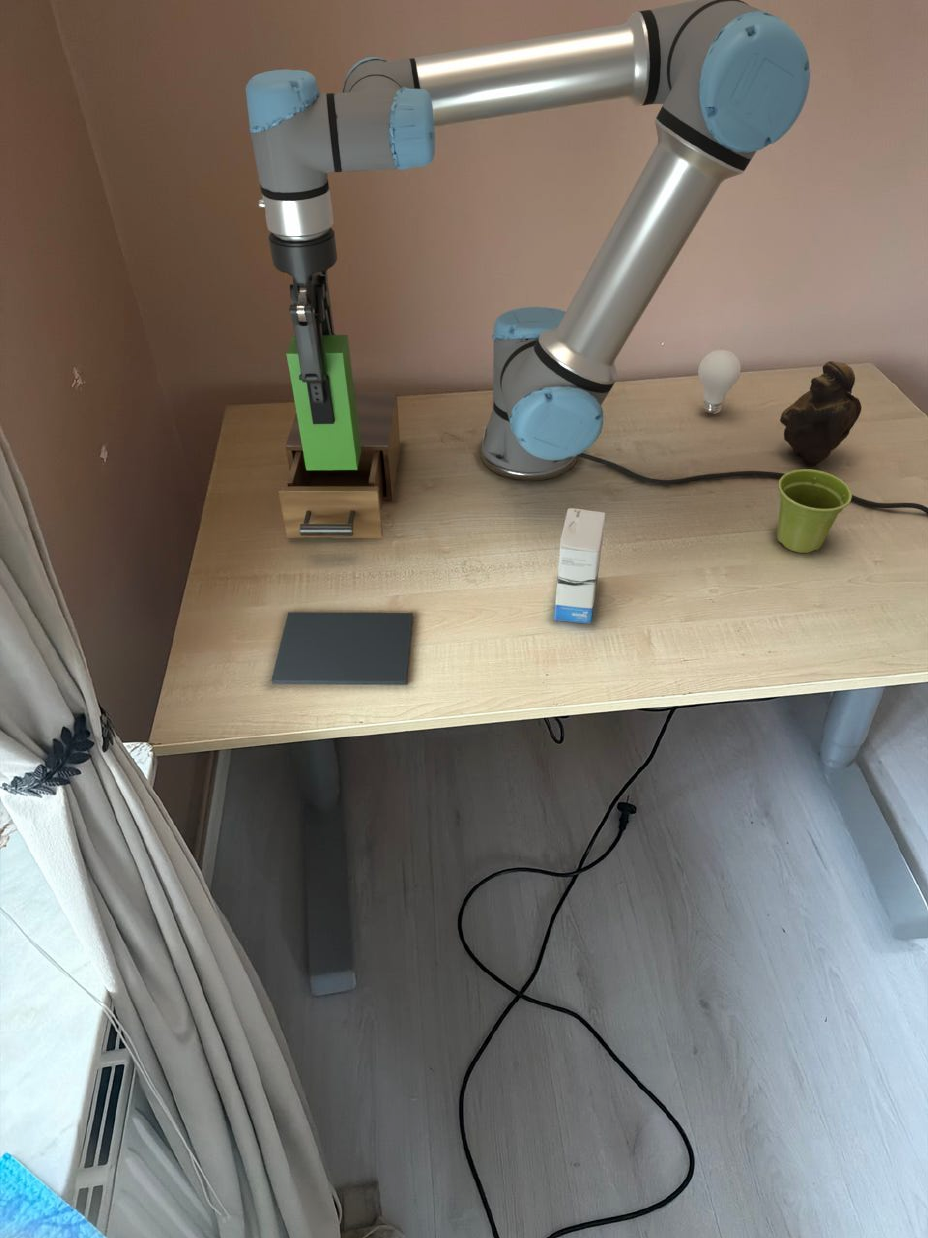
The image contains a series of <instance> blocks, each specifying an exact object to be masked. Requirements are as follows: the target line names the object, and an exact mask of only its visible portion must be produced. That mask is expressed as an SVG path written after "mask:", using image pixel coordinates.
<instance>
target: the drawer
mask: <svg viewBox="0 0 928 1238" xmlns="http://www.w3.org/2000/svg"><path fill="white" fill-rule="evenodd" d="M384 486H385V470H384V459H383V451H361V455H360V460H359V465H358V470H306V466H305V460H304V454H303V451H296V454H295V457H294V460H293V464H292V467H291V471H290V470H289V475H288V477H287V481H286V486H285V485H284V486H282V485H281V486H279V488H278V497H279V502H280V508H281V512H282V518H283V523H284V529H285V534H286V538H345V539H347V538H350V539H351V538H352V539H353V538H354V539H355V538H359V539H360V538H364V539H365V538H367V539H370V538H371V539H372V538H374V539H375V538H383V534H384V533H383V532H384V530H383V521H382V505H383V502H382V499H383V493H384Z"/></svg>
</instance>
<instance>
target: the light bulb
mask: <svg viewBox="0 0 928 1238" xmlns="http://www.w3.org/2000/svg"><path fill="white" fill-rule="evenodd" d="M741 367H742V366H741V363H740V360H739V359H738V357H737V355H735V354H734V353H733V352H731V351H729V350H726V349H715V350H713V351H711V352H709V353H707V354H705V356H704V357H703V358H702V360H701V361H700V363H699V366H698V369H697V370H698V371H697V374H698V379H699V382H700V384H701V386H702V388H703V410H704V412H706V413H708V414H709V415H715V414H719V413H720V412H721V411H722V407H723V402H724V401H725V399H726V396H727V394H728V392H729V391H730V390H732V388H733V387H734V386H735V385H736V384H737V382H738V380H739V378H740V375H741V372H742V368H741Z"/></svg>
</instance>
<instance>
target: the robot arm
mask: <svg viewBox="0 0 928 1238" xmlns="http://www.w3.org/2000/svg"><path fill="white" fill-rule="evenodd" d="M810 83H811V68H810V59H809V54H808V51H807V48H806V46H805V43H804V42H803V40H802V39H801V37H800V36H799V35H798V33H797V32H796V31H795V30H794V29H793V28H791V27H790V25H789V24H787V23H786V22H784V20H782V18H781V17H779V16H776V15H774V14H771V13H769V12H768V11H764V10H761V9H759V8H756V7H754V6H751V5H750V4H748V3H747V2H745V1H743V0H689V1H684V2H679V3H675V4H670V5H666V6H660V7H656V8H651V9H645V10H639V11H634V12H633V13H631V15H630V17H629V18H628V19H627V20H626V22H625V23H623V24H617V25H610V26H605V27H598V28H591V29H585V30H581V31H580V30H579V31H573V32H566V33H561V34H555V35H547V36H540V37H535V38H534V37H533V38H527V39H522V40H516V41H511V42H510V41H509V42H504V43H497V44H491V45H486V46H485V45H484V46H479V47H472V48H465V49H461V50H459V49H458V50H454V51H448V52H440V53H433V54H428V55H422V56H421V55H420V56H415V57H414V58H402V59H396V60H390V61H388V60H386V59H385V58H381V57H376V56H372V57H366V58H365V57H364V58H362V59H361V60H359V61H357V62H355V64H354V65H353V66H351V68H350V69H349V71H348V72H347V75H346V78H345V81H344V83H343V87H342V90H341V91H342V92H335V93H334V92H329V93H327V92H320V88H319V87H318V83H317V79H316V77H315V75H313V74H312V73H311V72H310V71H306V70H301V69H294V70H293V69H275V70H269V71H268V70H267V71H264V72H263V71H262V72H261V73H258V74H255V75H254V76H252V77H251V78H250V79H249V80H248V82H247V84H246V85H245V98H246V106H247V107H246V108H247V114H248V122H249V127H248V128H249V133H250V139H251V144H252V148H253V154H254V159H255V165H256V170H257V175H258V181H259V187H260V193H261V196H262V197H261V199H259V200H258V204H257V206H258V208H259V209H262V210H264V212H265V214H264V216H265V222H266V223H265V224H266V228H267V230H268V231H269V232H270V234H269V235H268V242H269V249H270V255H271V260H272V265H273V266H274V268H275V269H276V270H278V271H279V272H280V273H285V274H288V275H289V276H291V277H292V283H290V284H289V296H290V300H292V303H293V304H289V309H288V310H289V313H290V314H289V315H290V317H291V321H292V325H293V331H294V336H295V338H296V345H297V351H298V358H299V364H300V370H301V374H300V375H299V380H302V382H307V389H308V395H309V402H310V408H311V414H312V421H313V424H334V413H333V406H332V399H331V392H330V384H329V377H328V375H326V371H325V360H324V348H323V337H322V335H336V334H335V328H334V327H335V326H334V320H333V319H334V318H333V313H332V304H331V296H330V289H329V280H328V279H329V278H328V270H329V269H331V268H332V267H334V266H335V264H336V263H337V261H338V249H337V242H336V234H335V230H334V229H333V228H332V226H333V225H334V222H335V221H334V214H333V213H334V212H333V205H332V204H333V203H332V198H331V197H332V196H331V190H330V189H331V188H330V186H329V179H328V176H329V175H328V174H329V173H348V172H369V171H370V172H371V171H386V170H387V171H388V170H391V171H392V170H399V171H406V170H408V169H413V168H414V169H415V168H421V167H427V166H430V164H432V163H433V161H434V159H435V156H436V155H435V154H436V134H435V130H436V129H439V128H447V127H452V126H459V125H465V124H466V125H467V124H471V123H478V122H479V123H480V122H484V121H491V120H492V121H493V120H498V119H503V118H511V117H519V116H523V115H529V114H530V115H531V114H536V113H537V114H538V113H542V112H548V111H549V112H550V111H556V110H562V109H569V108H575V107H582V106H586V105H587V106H588V105H594V104H600V103H608V102H614V101H620V100H625V99H627V100H629V101H630V102H631V103H632V104H633V105H635V107H642V106H643V107H644V106H649V105H662V106H661V108H660V110H659V112H658V114H657V116H656V117H655V120H654V125H655V129H656V135H657V144H656V145H655V147H654V149H653V151H652V153H651V155H650V156H649V158H648V160H647V162H646V163H645V166H644V168H643V169H642V171H641V173H640V175H639V177H638V179H637V180H636V182H635V184H634V186H633V188H632V190H631V192H630V193H629V195H628V196H627V199H626V200H625V203H624V205H623V206H622V208H621V210H620V212H619V213H618V215H617V217H616V219H615V221H614V222H613V224H612V226H611V228H610V230H609V232H608V234H607V236H606V238H605V239H604V241H603V243H602V245H601V247H600V248H599V251H598V252H597V254H596V256H595V258H594V259H593V262H592V263H591V265H590V266H589V268H588V271H587V273H586V274H585V276H584V278H583V280H582V281H581V284H580V286H579V287H578V289H577V290H576V292H575V293H574V296H573V297H572V300H571V302H570V303H569V306H568V308H567V309H566V311H565V310H562V309H560V308H559V309H558V308H554V307H545V306H527V307H518V308H514V309H511V310H508V311H504V312H503V313H501V314H500V315H499V316H498V317H497V318H496V319H495V321H494V323H493V324H494V325H493V333H492V336H491V339H492V340H493V359H492V360H493V361H492V362H493V364H492V365H493V366H492V368H493V369H492V371H493V373H492V380H493V381H492V411H491V414H490V417H489V420H488V423H487V424H485V425H484V428H483V436H482V439H481V443H480V444H481V445H480V456H481V461H482V462H483V464H484V465H485V466H486V468H488V469H489V470H490V471H492V472H494V473H495V474H497V475H499V476H502V477H504V478H508V479H511V480H517V481H525V482H535V481H545V480H550V479H554V478H556V477H559V476H562V475H564V474H566V473H567V472H569V471H570V470H571V469H572V468H573V467H574V466H575V465H576V463H577V460H578V458H582V459H584V460H588V461H590V462H591V461H592V462H594V463H598V464H600V465H602V466H603V465H604V466H607V467H609V468H611V469H614V470H617V471H618V472H621V473H623V474H625V475H627V476H629V477H631V478H632V479H633V478H634V479H636V480H638V481H641V482H644V483H649V484H653V485H660V486H661V485H663V486H664V485H665V486H668V485H671V486H672V485H680V484H686V483H692V482H697V481H703V480H704V481H705V480H712V479H725V478H733V477H734V478H735V477H750V476H751V477H771V478H779V479H780V478H781V477H782V476H783V475H784V474H785V473H784V472H776V471H764V470H762V471H761V470H739V471H728V472H719V473H708V474H698V475H693V476H687V477H683V478H675V479H658V478H653V477H652V478H651V477H647V476H645V475H644V476H643V475H641V474H638V473H636V472H634V471H632V470H629V469H628V468H626V467H624V466H622V465H619V464H618V463H615V462H613V461H609V460H606V459H603V458H601V457H598V456H594V455H591V454H588V453H584V452H585V451H587V450H589V448H591V447H592V446H593V445H594V444H595V443H596V441H597V440H598V439H599V437H600V435H601V433H602V430H603V426H604V411H603V408H602V407H603V406H602V405H603V404H604V401H605V400H606V398H607V396H608V395H609V393H610V392H611V390H612V389H613V387H614V385H615V383H616V381H617V380H618V377H619V376H618V372H617V368H616V364H615V362H616V359H617V357H618V356H619V354H620V353H621V351H622V349H623V347H624V346H625V344H626V342H627V341H628V339H629V337H630V336H631V334H632V333H633V331H634V329H635V328H636V326H637V325H638V323H639V321H640V319H641V318H642V316H643V314H644V312H645V311H646V309H647V307H648V306H649V304H650V303H651V301H652V300H653V298H654V296H655V294H656V293H657V291H658V289H659V288H660V286H661V284H662V283H663V281H664V279H665V278H666V276H667V274H668V273H669V271H670V270H671V268H672V267H673V264H674V263H675V261H676V259H677V258H678V256H679V254H680V252H681V251H682V249H683V248H684V246H685V244H686V243H687V241H688V240H689V237H691V235H692V234H693V231H694V229H695V228H696V226H697V225H698V223H699V221H700V220H701V217H702V216H703V215H704V213H705V211H706V209H707V208H708V206H709V205H710V202H711V201H712V199H713V198H714V196H715V195H716V193H717V192H718V189H719V188H720V186H721V185H722V183H723V182H724V181H725V180H728V179H731V178H734V177H736V176H739V175H742V174H744V172H745V171H746V169H747V167H748V166H749V164H750V163H751V161H752V159H753V158H754V156H755V155H756V153H757V152H758V151H761V150H763V149H764V148H766V147H768V146H769V145H771V144H772V145H773V144H775V143H776V142H778V141H780V140H781V139H782V138H783V137H784V136H785V135H786V134H787V133H788V132H789V130H791V128H792V127H793V125H794V124H795V123H796V121H797V120H798V118H799V117H800V115H801V113H802V111H803V109H804V106H805V103H806V100H807V98H808V94H809V89H810ZM851 501H853V502H855V503H858V504H860V505H863V506H868V507H870V508H871V507H872V508H877V509H878V508H879V509H917V510H918V511H919V510H920V511H921V512H924V513H925V514H926V515H928V506H925V505H923V504H920V503H915V502H890V503H889V502H888V503H887V502H877V501H871V500H868V499H865V498H861V497H858V496H856V495H854V494H852V498H851Z"/></svg>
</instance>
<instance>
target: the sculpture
mask: <svg viewBox="0 0 928 1238" xmlns="http://www.w3.org/2000/svg"><path fill="white" fill-rule="evenodd" d="M855 381H856V376H855V372H854V370H853V368H852V367H851V366H850V365H848V364H846V363H844V362H839V361H835V360H829V361H827V362H825V363H824V364H823V365H822V374H821V375H819V376H816V377H813V378H811V380H810V386H809V390H808V391H807V392H805V393H804V394H802V395H801V396H800V397H799V398H798V399H797V400H796V401H795V402H793V403H792V404H790V405H789V406H788V407H787V408H785V409H784V410H783V411H782V413H781V416H780V419H779V422H780V423H781V425H783V426H784V427H785V428H784V431H783V439H784V441H785V442H786V443H787V444H788V445H789V446H790V447H791V448H792V453H793V455H794V456H797V457H802V458H804V459H805V461H806V465H807V466H808V467H814V466H817V465H818V464H819V463H822V461H824V460H826V459H827V458H828V457H829V456H830V455H831V454H832V451H833V450H835V449H837V448H838V447H839V446H840V444H841V443H842V442H844V440H845V439H846V438H847V437H848V436H849V434H850V432H851V430H852V428H853V427H854V425H855V424H856V422H857V421H858V420H859V418H860V414H861V413H862V404H861V401H860V399H859V398H858V397H856V396H855V395H853V394H852V393H853V391H852V390H853V388H854V385H855V383H856V382H855Z"/></svg>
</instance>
